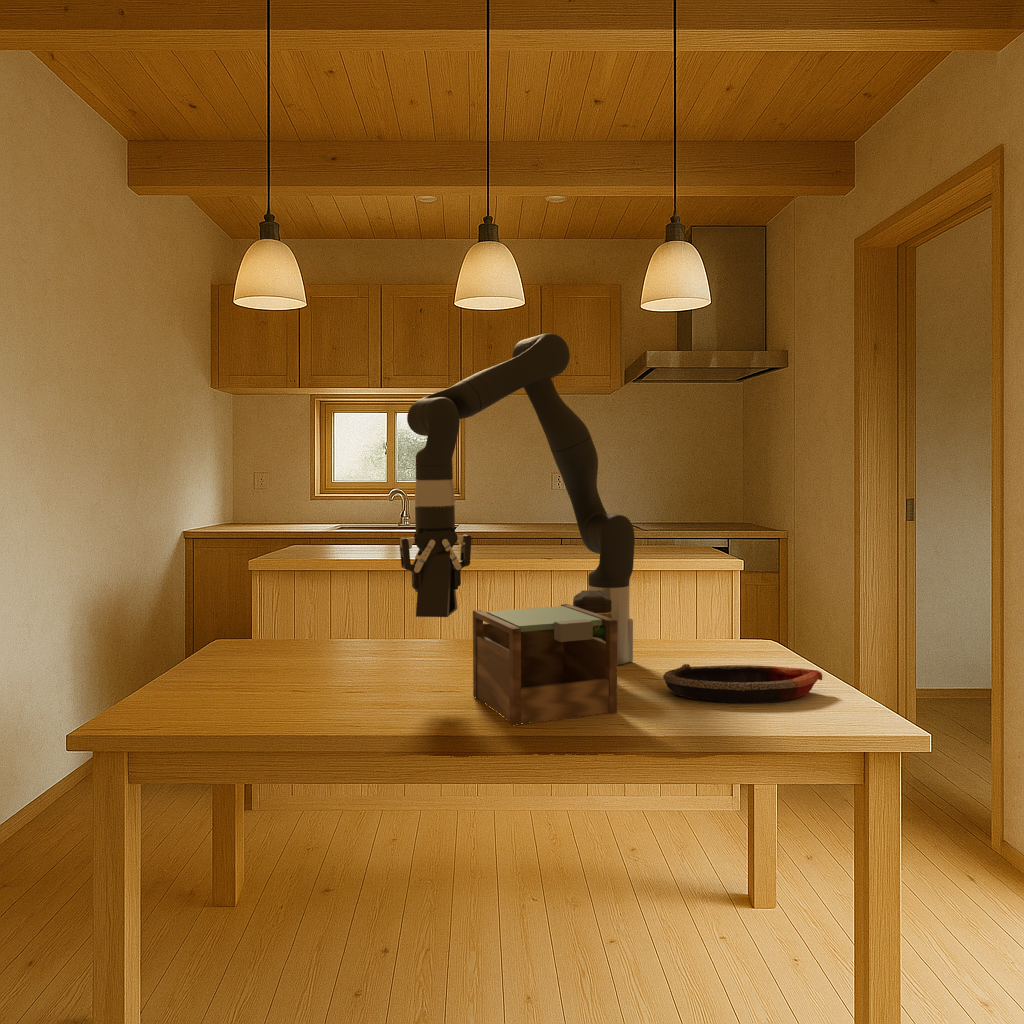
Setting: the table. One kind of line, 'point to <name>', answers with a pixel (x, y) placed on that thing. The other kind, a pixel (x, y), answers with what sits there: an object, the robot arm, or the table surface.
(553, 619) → the trapdoor
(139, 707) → the table surface
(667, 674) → the dish
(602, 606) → the coffee jar
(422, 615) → the phone stand
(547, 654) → the wooden crate
